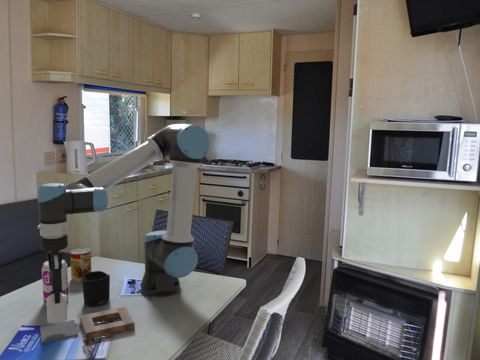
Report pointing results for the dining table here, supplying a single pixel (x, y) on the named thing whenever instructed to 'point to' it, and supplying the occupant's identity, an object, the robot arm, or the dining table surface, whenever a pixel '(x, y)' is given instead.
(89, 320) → the bottle holder
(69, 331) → the rubber mat
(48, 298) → the eye dropper bottle
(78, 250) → the canned food
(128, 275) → the dining table surface
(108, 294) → the pen holder
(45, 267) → the supplement can
